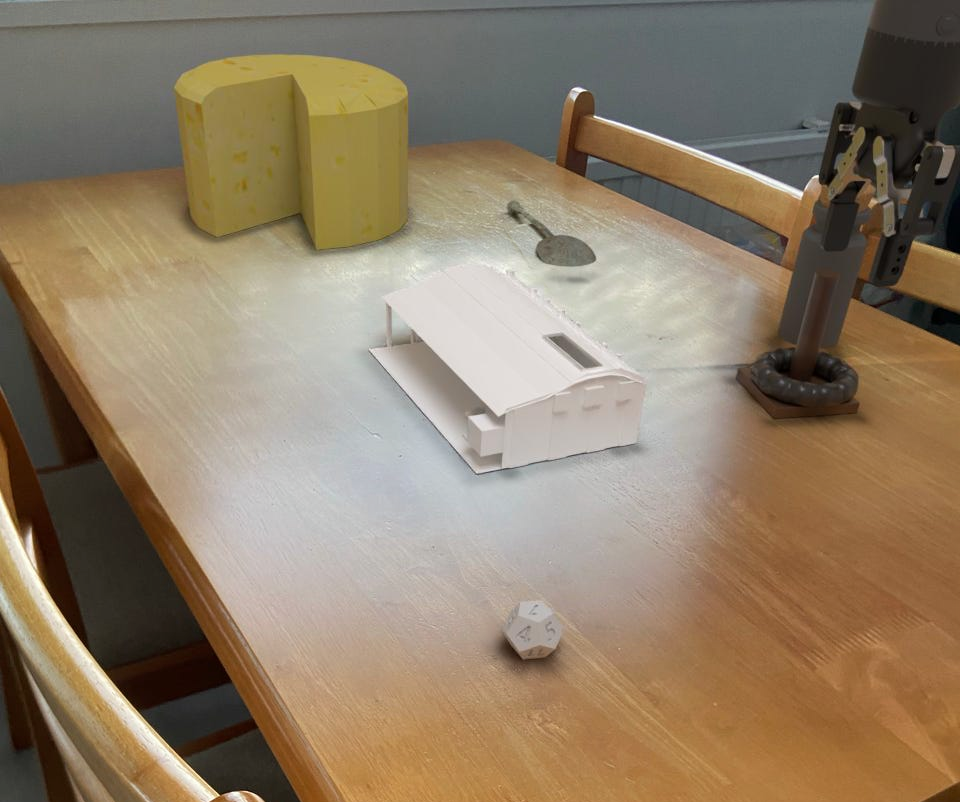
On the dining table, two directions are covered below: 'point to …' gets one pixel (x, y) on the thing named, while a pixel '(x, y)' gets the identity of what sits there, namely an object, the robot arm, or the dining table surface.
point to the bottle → (818, 258)
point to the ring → (800, 391)
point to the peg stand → (805, 354)
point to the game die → (532, 629)
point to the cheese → (295, 146)
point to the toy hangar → (508, 371)
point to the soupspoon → (556, 244)
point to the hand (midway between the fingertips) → (856, 266)
